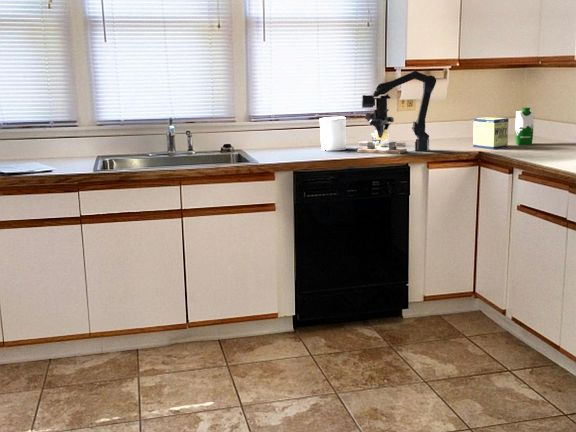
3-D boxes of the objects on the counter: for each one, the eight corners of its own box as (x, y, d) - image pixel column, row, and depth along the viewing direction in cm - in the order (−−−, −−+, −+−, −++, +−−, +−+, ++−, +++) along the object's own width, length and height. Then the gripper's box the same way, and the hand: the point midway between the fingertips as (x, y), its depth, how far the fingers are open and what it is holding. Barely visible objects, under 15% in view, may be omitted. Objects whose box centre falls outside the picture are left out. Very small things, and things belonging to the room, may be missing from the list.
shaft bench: (408, 151, 363) (408, 141, 361) (401, 153, 354) (401, 143, 353) (363, 150, 376) (363, 140, 375) (355, 152, 367) (355, 142, 366)
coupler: (379, 138, 366) (379, 129, 365) (387, 138, 364) (387, 129, 363) (376, 139, 363) (376, 130, 362) (384, 139, 360) (384, 130, 359)
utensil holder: (315, 150, 381) (314, 119, 377) (326, 147, 394) (326, 116, 390) (340, 151, 374) (339, 119, 370) (350, 148, 387) (350, 116, 383)
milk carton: (517, 145, 369) (518, 108, 365) (513, 143, 378) (514, 107, 374) (534, 145, 368) (535, 107, 364) (530, 143, 377) (531, 106, 373)
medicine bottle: (371, 146, 391) (371, 125, 389) (380, 145, 395) (380, 124, 393) (380, 147, 386) (380, 125, 383) (389, 145, 390) (389, 124, 387)
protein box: (493, 149, 358) (494, 119, 355) (472, 147, 371) (473, 118, 368) (508, 147, 363) (509, 118, 359) (486, 145, 376) (487, 116, 373)
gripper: (374, 106, 372) (375, 135, 375) (360, 109, 356) (360, 138, 359) (393, 106, 366) (394, 135, 369) (380, 108, 350) (380, 139, 354)
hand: (382, 137), depth 363 cm, fingers closed on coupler, 4 cm apart
